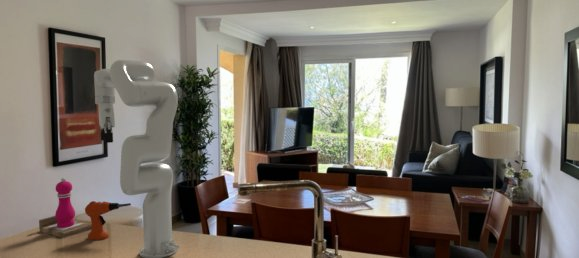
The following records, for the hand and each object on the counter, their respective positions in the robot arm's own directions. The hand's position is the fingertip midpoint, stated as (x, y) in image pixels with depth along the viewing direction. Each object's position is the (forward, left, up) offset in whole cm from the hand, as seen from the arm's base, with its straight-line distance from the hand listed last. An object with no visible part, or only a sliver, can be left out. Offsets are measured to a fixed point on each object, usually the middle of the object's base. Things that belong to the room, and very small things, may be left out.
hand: (106, 141), depth 168 cm
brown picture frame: (+12, +12, -36) cm, 40 cm away
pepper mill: (+12, +12, -34) cm, 38 cm away
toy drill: (-12, +10, -36) cm, 40 cm away
